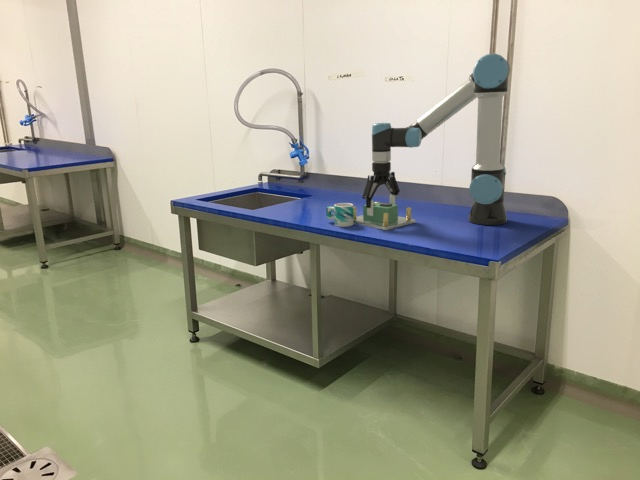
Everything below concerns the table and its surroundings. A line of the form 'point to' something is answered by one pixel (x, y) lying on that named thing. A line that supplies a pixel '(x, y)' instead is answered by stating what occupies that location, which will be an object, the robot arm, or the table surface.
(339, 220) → the mug
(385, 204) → the green control box
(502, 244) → the table surface
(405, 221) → the chassis
